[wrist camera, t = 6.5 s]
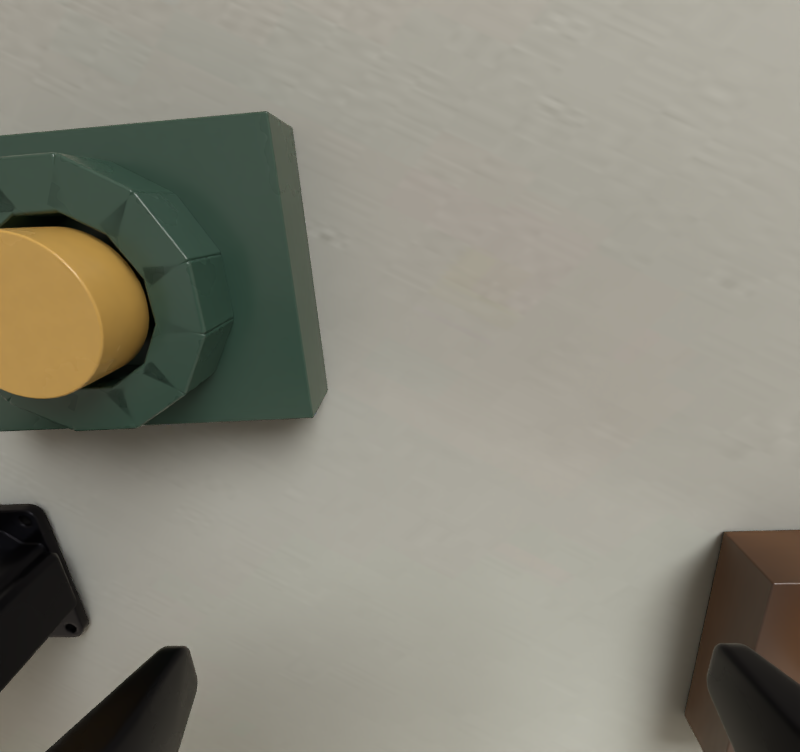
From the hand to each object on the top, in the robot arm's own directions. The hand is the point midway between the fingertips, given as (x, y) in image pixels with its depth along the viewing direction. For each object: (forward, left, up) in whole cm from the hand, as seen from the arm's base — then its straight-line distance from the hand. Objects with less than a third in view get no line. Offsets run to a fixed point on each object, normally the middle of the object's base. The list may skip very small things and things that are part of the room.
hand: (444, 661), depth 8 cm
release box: (-8, +6, -9) cm, 13 cm away
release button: (-9, +6, -5) cm, 11 cm away
